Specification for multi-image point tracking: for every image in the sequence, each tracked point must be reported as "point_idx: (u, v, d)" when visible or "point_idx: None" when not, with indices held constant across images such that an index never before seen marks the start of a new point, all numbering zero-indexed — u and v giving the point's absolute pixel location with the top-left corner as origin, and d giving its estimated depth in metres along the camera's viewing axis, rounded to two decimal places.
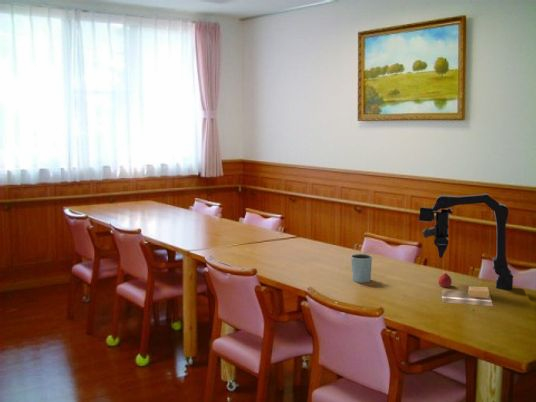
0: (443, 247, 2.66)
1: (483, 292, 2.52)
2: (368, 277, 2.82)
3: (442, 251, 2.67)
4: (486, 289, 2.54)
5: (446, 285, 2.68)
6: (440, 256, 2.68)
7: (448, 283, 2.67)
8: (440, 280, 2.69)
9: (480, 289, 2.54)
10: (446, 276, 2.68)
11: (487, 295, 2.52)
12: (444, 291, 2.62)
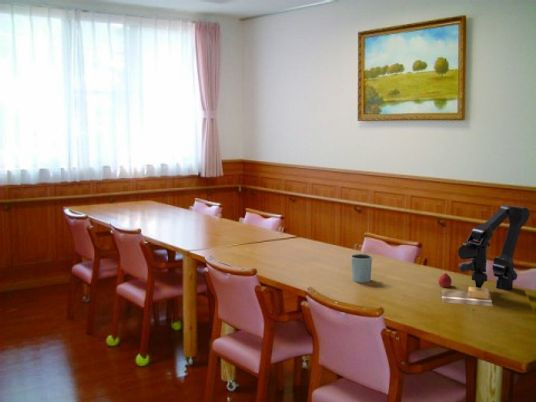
0: (481, 281, 2.56)
1: (482, 293, 2.51)
2: (368, 277, 2.82)
3: (480, 285, 2.57)
4: (486, 290, 2.53)
5: (446, 285, 2.68)
6: None
7: (448, 283, 2.67)
8: (440, 280, 2.69)
9: (480, 290, 2.53)
10: (446, 276, 2.68)
11: (487, 296, 2.50)
12: (444, 291, 2.62)
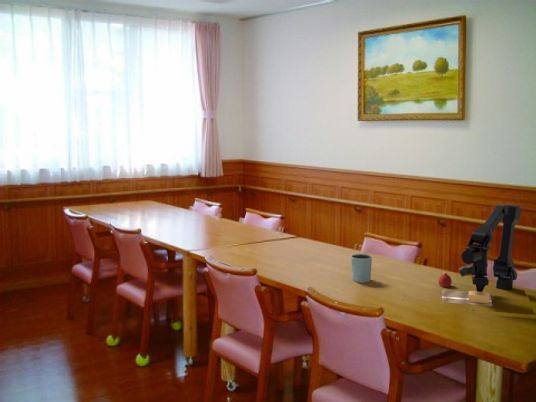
0: (482, 285, 2.50)
1: (483, 297, 2.45)
2: (368, 277, 2.82)
3: (480, 289, 2.51)
4: (487, 294, 2.47)
5: (446, 285, 2.68)
6: None
7: (448, 283, 2.67)
8: (440, 280, 2.69)
9: (480, 294, 2.47)
10: (446, 276, 2.68)
11: (487, 300, 2.45)
12: (444, 291, 2.62)
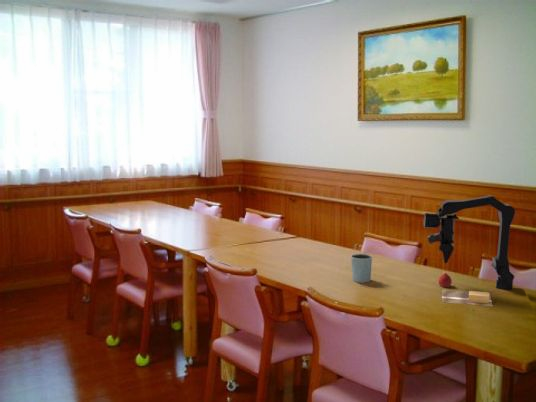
0: (448, 252, 2.64)
1: (483, 297, 2.45)
2: (368, 277, 2.82)
3: (447, 256, 2.65)
4: (487, 294, 2.47)
5: (446, 285, 2.68)
6: (445, 261, 2.66)
7: (448, 283, 2.67)
8: (440, 280, 2.69)
9: (480, 294, 2.47)
10: (446, 276, 2.68)
11: (487, 300, 2.45)
12: (444, 291, 2.62)
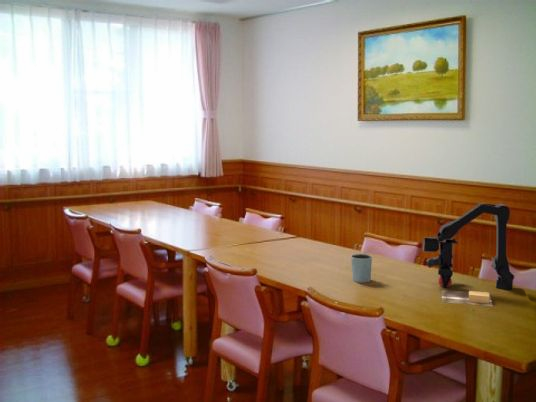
0: (447, 277, 2.65)
1: (483, 297, 2.45)
2: (368, 277, 2.82)
3: (446, 281, 2.66)
4: (487, 294, 2.47)
5: None
6: (444, 286, 2.67)
7: (448, 283, 2.67)
8: (440, 280, 2.69)
9: (480, 294, 2.47)
10: None
11: (487, 300, 2.45)
12: (444, 291, 2.62)
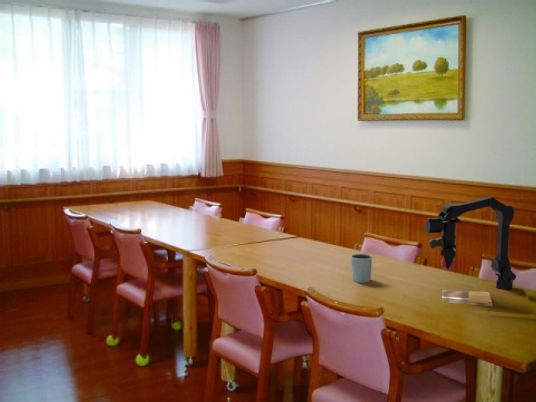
0: (450, 258, 2.57)
1: (483, 297, 2.45)
2: (368, 277, 2.82)
3: (449, 262, 2.58)
4: (487, 294, 2.47)
5: None
6: (447, 267, 2.59)
7: (451, 264, 2.60)
8: (443, 261, 2.61)
9: (480, 294, 2.47)
10: None
11: (487, 300, 2.45)
12: (444, 291, 2.62)
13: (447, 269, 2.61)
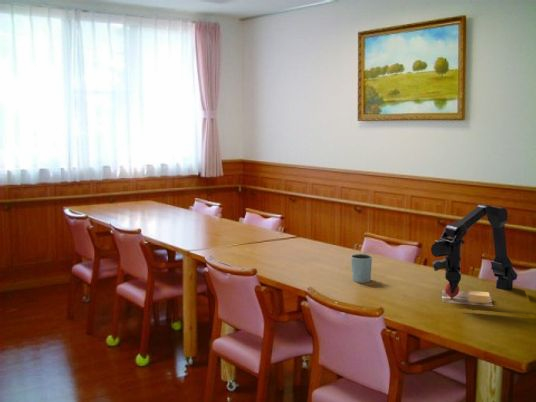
0: (455, 282, 2.45)
1: (483, 297, 2.45)
2: (368, 277, 2.82)
3: (454, 286, 2.46)
4: (487, 294, 2.47)
5: (453, 294, 2.50)
6: (452, 291, 2.47)
7: (456, 291, 2.49)
8: (447, 288, 2.51)
9: (480, 294, 2.47)
10: None
11: (487, 300, 2.45)
12: (444, 291, 2.62)
13: (451, 296, 2.51)
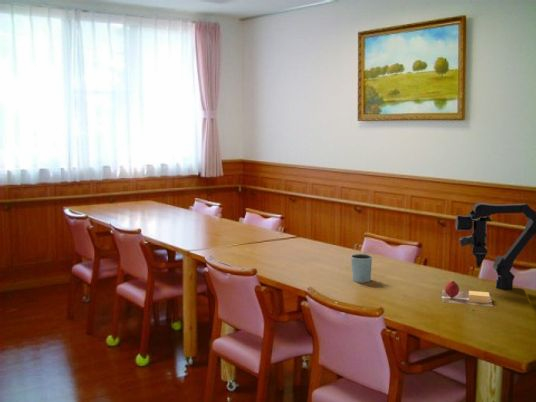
0: (481, 256, 2.60)
1: (483, 297, 2.45)
2: (368, 277, 2.82)
3: (480, 260, 2.61)
4: (487, 294, 2.47)
5: (453, 294, 2.50)
6: (478, 265, 2.62)
7: (456, 291, 2.49)
8: (447, 288, 2.51)
9: (480, 294, 2.47)
10: (453, 284, 2.50)
11: (487, 300, 2.45)
12: (444, 291, 2.62)
13: (451, 296, 2.51)
